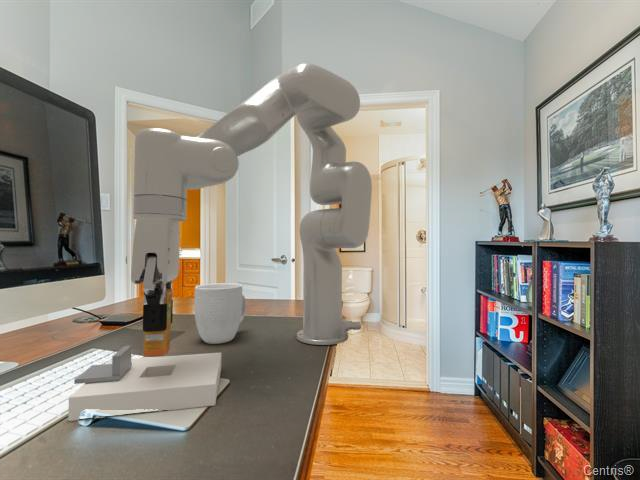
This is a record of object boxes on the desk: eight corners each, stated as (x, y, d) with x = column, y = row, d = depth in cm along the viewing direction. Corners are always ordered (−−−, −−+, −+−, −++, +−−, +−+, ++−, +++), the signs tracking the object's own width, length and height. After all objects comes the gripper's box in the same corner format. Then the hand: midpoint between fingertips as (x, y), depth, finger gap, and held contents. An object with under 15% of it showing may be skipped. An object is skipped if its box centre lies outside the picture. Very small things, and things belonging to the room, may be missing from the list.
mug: (228, 328, 88) (228, 280, 89) (261, 333, 83) (261, 282, 84) (183, 343, 75) (184, 286, 75) (219, 350, 70) (219, 289, 70)
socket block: (221, 368, 59) (221, 352, 59) (215, 405, 46) (215, 384, 46) (111, 377, 55) (111, 360, 55) (68, 421, 41) (68, 397, 41)
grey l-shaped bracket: (131, 366, 52) (132, 344, 52) (119, 380, 47) (119, 356, 47) (92, 369, 51) (92, 347, 51) (74, 383, 45) (74, 359, 45)
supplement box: (167, 356, 49) (167, 290, 49) (142, 357, 48) (142, 291, 48) (172, 349, 52) (172, 287, 52) (149, 350, 52) (149, 288, 52)
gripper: (149, 214, 58) (146, 317, 58) (114, 202, 42) (110, 344, 42) (193, 216, 60) (191, 315, 59) (176, 204, 44) (173, 341, 43)
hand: (158, 326), depth 50 cm, fingers closed on supplement box, 3 cm apart
